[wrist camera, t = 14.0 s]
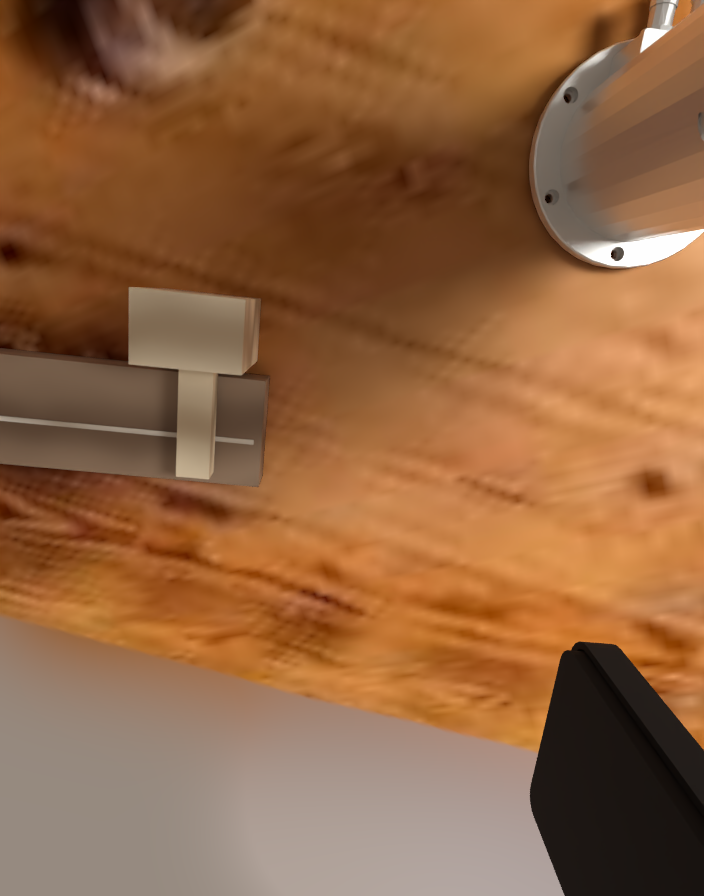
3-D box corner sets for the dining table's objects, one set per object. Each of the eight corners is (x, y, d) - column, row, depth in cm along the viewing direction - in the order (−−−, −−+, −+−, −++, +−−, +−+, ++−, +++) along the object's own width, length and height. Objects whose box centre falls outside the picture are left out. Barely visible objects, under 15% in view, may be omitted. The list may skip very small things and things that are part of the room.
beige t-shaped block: (166, 288, 36) (128, 286, 29) (261, 298, 36) (245, 299, 30) (163, 454, 39) (127, 487, 32) (251, 462, 39) (234, 496, 32)
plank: (-108, 336, 36) (-140, 339, 34) (269, 375, 38) (265, 381, 35) (-98, 442, 38) (-127, 452, 35) (262, 475, 39) (258, 487, 37)
